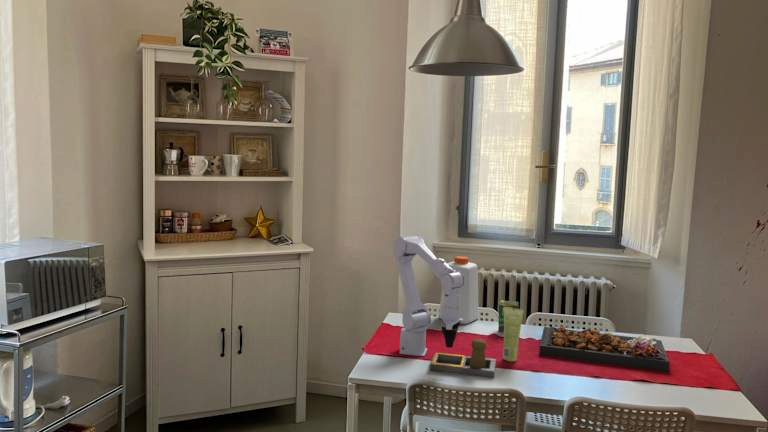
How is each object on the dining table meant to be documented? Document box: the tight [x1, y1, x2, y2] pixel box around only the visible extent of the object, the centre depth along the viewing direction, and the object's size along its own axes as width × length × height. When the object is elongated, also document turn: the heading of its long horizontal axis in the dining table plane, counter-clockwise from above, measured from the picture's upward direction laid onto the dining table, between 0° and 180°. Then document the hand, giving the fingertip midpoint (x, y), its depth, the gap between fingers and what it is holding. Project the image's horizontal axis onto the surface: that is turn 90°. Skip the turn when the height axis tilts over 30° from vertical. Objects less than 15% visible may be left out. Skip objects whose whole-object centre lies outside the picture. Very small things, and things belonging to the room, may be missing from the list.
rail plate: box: [429, 352, 497, 379], centre depth 220 cm, size 22×12×3 cm, turn 77°
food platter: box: [539, 325, 670, 373], centre depth 240 cm, size 45×25×10 cm, turn 73°
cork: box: [468, 338, 487, 369], centre depth 218 cm, size 6×6×11 cm
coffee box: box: [497, 299, 519, 333], centre depth 261 cm, size 8×3×13 cm, turn 70°
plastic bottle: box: [438, 255, 479, 325], centre depth 277 cm, size 15×15×28 cm
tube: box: [502, 307, 525, 362], centre depth 229 cm, size 6×5×20 cm
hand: (450, 343), depth 220 cm, fingers open, 7 cm apart
